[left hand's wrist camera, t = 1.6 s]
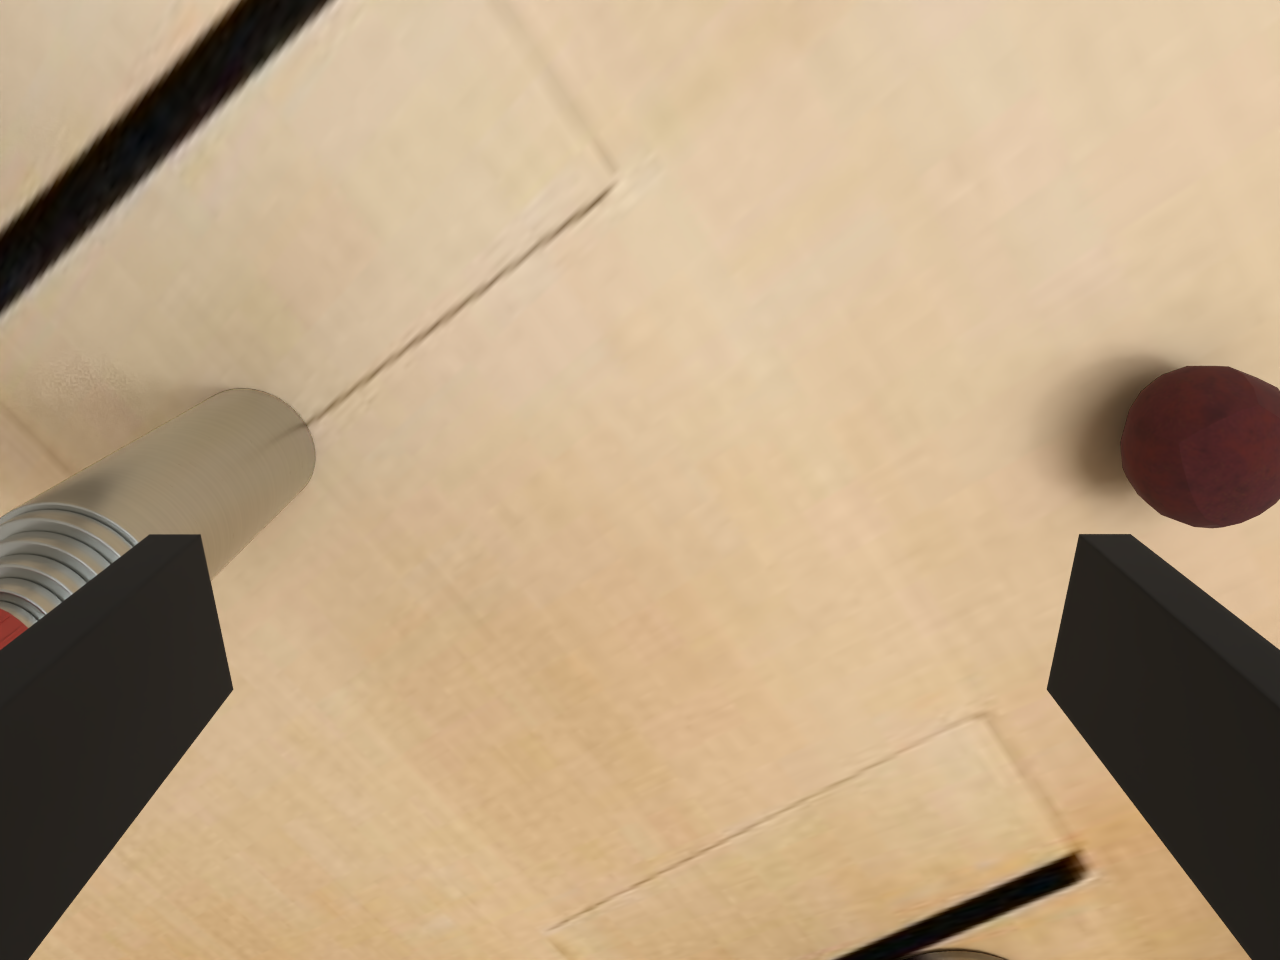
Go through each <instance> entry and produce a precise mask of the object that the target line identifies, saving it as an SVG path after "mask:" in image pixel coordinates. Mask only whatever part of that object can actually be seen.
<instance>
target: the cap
mask: <svg viewBox="0 0 1280 960" xmlns="http://www.w3.org/2000/svg"><path fill="white" fill-rule="evenodd" d="M27 629H28V627H27V626H26V625H25V624H24V623H22V622H21V621H20V620H19V619H17V618H16V617H15V616H13V615H12V614H11V613H9V612H7V611H5V610H3V609H1V608H0V650H1V649H2V648H4V647H5V646H6V645H7V644H9V643H10V642H11V641H13V640H14V639H15V638H16V637H18V636H19V635H20V634H22V633H23V632H24V631H25V630H27Z"/></svg>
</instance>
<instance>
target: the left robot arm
mask: <svg viewBox="0 0 1280 960" xmlns="http://www.w3.org/2000/svg"><path fill="white" fill-rule="evenodd" d="M232 690H233V686H232V681H231V676H230V672H229V667H228V662H227V657H226V652H225V648H224V643H223V638H222V633H221V629H220V624H219V619H218V614H217V610H216V605H215V600H214V595H213V590H212V586H211V581H210V576H209V571H208V567H207V562H206V557H205V552H204V547H203V543H202V538H201V534H149V535H148V536H147V537H145V538H144V539H143V540H141V541H140V542H139V543H138V544H136V545H135V546H134V547H132V548H131V549H130V550H129V551H127V552H126V553H125V554H123V555H122V556H121V557H120V558H118V559H117V560H116V561H114V562H113V563H112V564H111V565H109V566H108V567H107V568H105V569H104V570H103V571H102V572H100V573H99V574H98V575H96V576H95V577H94V578H92V579H91V580H90V581H89V582H87V583H86V584H85V585H83V586H82V587H81V588H80V589H78V590H77V591H76V592H74V593H73V594H72V595H71V596H69V597H68V598H67V599H65V600H64V601H63V602H62V603H60V604H59V605H58V606H56V607H55V608H54V609H53V610H51V611H50V612H49V613H47V614H46V615H45V616H44V617H42V618H41V619H40V620H38V621H37V622H36V623H35V624H33V625H32V626H31V627H29V628H28V629H27V630H25V631H24V632H23V633H22V634H20V635H19V636H18V637H16V638H15V639H14V640H13V641H11V642H10V643H9V644H7V645H6V646H5V647H4V648H2V649H1V650H0V960H28V959H29V958H30V957H31V955H32V954H33V953H34V951H35V950H36V949H37V947H38V946H39V945H40V943H41V942H42V941H43V939H44V938H45V937H46V936H47V934H48V933H49V932H50V930H51V929H52V928H53V926H54V925H55V924H56V922H57V921H58V920H59V918H60V917H61V916H62V914H63V913H64V912H65V911H66V909H67V908H68V907H69V905H70V904H71V903H72V901H73V900H74V899H75V897H76V896H77V895H78V893H79V892H80V891H81V889H82V888H83V887H84V885H85V884H86V883H87V882H88V880H89V879H90V878H91V876H92V875H93V874H94V872H95V871H96V870H97V868H98V867H99V866H100V864H101V863H102V862H103V860H104V859H105V858H106V856H107V855H108V854H109V853H110V851H111V850H112V849H113V847H114V846H115V845H116V843H117V842H118V841H119V839H120V838H121V837H122V835H123V834H124V833H125V831H126V830H127V829H128V828H129V826H130V825H131V824H132V822H133V821H134V820H135V818H136V817H137V816H138V814H139V813H140V812H141V810H142V809H143V808H144V806H145V805H146V804H147V802H148V801H149V800H150V799H151V797H152V796H153V795H154V793H155V792H156V791H157V789H158V788H159V787H160V785H161V784H162V783H163V781H164V780H165V779H166V777H167V776H168V775H169V773H170V772H171V771H172V770H173V768H174V767H175V766H176V764H177V763H178V762H179V760H180V759H181V758H182V756H183V755H184V754H185V752H186V751H187V750H188V748H189V747H190V746H191V744H192V743H193V742H194V741H195V739H196V738H197V737H198V735H199V734H200V733H201V731H202V730H203V729H204V727H205V726H206V725H207V723H208V722H209V721H210V719H211V718H212V717H213V716H214V714H215V713H216V712H217V710H218V709H219V708H220V706H221V705H222V704H223V702H224V701H225V700H226V698H227V697H228V696H229V694H230V693H231V692H232ZM1047 690H1048V692H1049V693H1050V694H1051V696H1052V697H1053V698H1054V700H1055V701H1056V702H1057V704H1058V705H1059V706H1060V708H1061V709H1062V710H1063V712H1064V713H1065V714H1066V716H1067V717H1068V718H1069V719H1070V721H1071V722H1072V723H1073V725H1074V726H1075V727H1076V729H1077V730H1078V731H1079V733H1080V734H1081V735H1082V737H1083V738H1084V739H1085V741H1086V742H1087V743H1088V744H1089V746H1090V747H1091V748H1092V750H1093V751H1094V752H1095V754H1096V755H1097V756H1098V758H1099V759H1100V760H1101V762H1102V763H1103V764H1104V766H1105V767H1106V768H1107V770H1108V771H1109V772H1110V773H1111V775H1112V776H1113V777H1114V779H1115V780H1116V781H1117V783H1118V784H1119V785H1120V787H1121V788H1122V789H1123V791H1124V792H1125V793H1126V795H1127V796H1128V797H1129V799H1130V800H1131V801H1132V802H1133V804H1134V805H1135V806H1136V808H1137V809H1138V810H1139V812H1140V813H1141V814H1142V816H1143V817H1144V818H1145V820H1146V821H1147V822H1148V824H1149V825H1150V826H1151V828H1152V829H1153V830H1154V831H1155V833H1156V834H1157V835H1158V837H1159V838H1160V839H1161V841H1162V842H1163V843H1164V845H1165V846H1166V847H1167V849H1168V850H1169V851H1170V853H1171V854H1172V855H1173V856H1174V858H1175V859H1176V860H1177V862H1178V863H1179V864H1180V866H1181V867H1182V868H1183V870H1184V871H1185V872H1186V874H1187V875H1188V876H1189V878H1190V879H1191V880H1192V882H1193V883H1194V884H1195V885H1196V887H1197V888H1198V889H1199V891H1200V892H1201V893H1202V895H1203V896H1204V897H1205V899H1206V900H1207V901H1208V903H1209V904H1210V905H1211V907H1212V908H1213V909H1214V911H1215V912H1216V913H1217V914H1218V916H1219V917H1220V918H1221V920H1222V921H1223V922H1224V924H1225V925H1226V926H1227V928H1228V929H1229V930H1230V932H1231V933H1232V934H1233V936H1234V937H1235V938H1236V939H1237V941H1238V942H1239V943H1240V945H1241V946H1242V947H1243V949H1244V950H1245V951H1246V953H1247V954H1248V955H1249V957H1250V958H1251V959H1252V960H1280V650H1279V649H1278V648H1276V647H1275V646H1274V645H1273V644H1271V643H1270V642H1269V641H1267V640H1266V639H1265V638H1264V637H1262V636H1261V635H1260V634H1258V633H1257V632H1256V631H1255V630H1253V629H1252V628H1251V627H1249V626H1248V625H1247V624H1245V623H1244V622H1243V621H1242V620H1240V619H1239V618H1238V617H1236V616H1235V615H1234V614H1233V613H1231V612H1230V611H1229V610H1227V609H1226V608H1225V607H1224V606H1222V605H1221V604H1220V603H1218V602H1217V601H1216V600H1215V599H1213V598H1212V597H1211V596H1209V595H1208V594H1207V593H1206V592H1204V591H1203V590H1202V589H1200V588H1199V587H1198V586H1197V585H1195V584H1194V583H1193V582H1191V581H1190V580H1189V579H1188V578H1186V577H1185V576H1184V575H1182V574H1181V573H1180V572H1178V571H1177V570H1176V569H1175V568H1173V567H1172V566H1171V565H1169V564H1168V563H1167V562H1166V561H1164V560H1163V559H1162V558H1160V557H1159V556H1158V555H1157V554H1155V553H1154V552H1153V551H1151V550H1150V549H1149V548H1148V547H1146V546H1145V545H1144V544H1142V543H1141V542H1140V541H1139V540H1137V539H1136V538H1135V537H1133V536H1132V535H1131V534H1079V538H1078V543H1077V547H1076V552H1075V557H1074V562H1073V567H1072V571H1071V576H1070V581H1069V586H1068V590H1067V595H1066V600H1065V605H1064V610H1063V614H1062V619H1061V624H1060V629H1059V633H1058V638H1057V643H1056V648H1055V652H1054V657H1053V662H1052V667H1051V672H1050V676H1049V681H1048V686H1047Z"/></svg>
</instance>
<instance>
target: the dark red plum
mask: <svg viewBox="0 0 1280 960" xmlns="http://www.w3.org/2000/svg"><path fill="white" fill-rule="evenodd" d="M1120 443H1121V455H1122V466H1123V470H1124V472H1125V474H1126V477H1127V478H1128V480H1129V481H1130V483H1131V484H1132V486H1133V488H1134V489H1135V491H1136V492H1137V494H1138V495H1139V496H1140V497H1141V498H1142V499H1144V500H1145V501H1146V502H1147V503H1148V504H1149V505H1150V506H1151V507H1153V508H1154V509H1155V510H1156V511H1157V512H1159V513H1160V514H1161V515H1163V516H1166V517H1169V518H1171V519H1174V520H1177V521H1179V522H1182V523H1185V524H1188V525H1190V526H1193V527H1203V528H1220V527H1226V526H1230V525H1234V524H1239V523H1242V522H1244V521H1247V520H1249V519H1251V518H1253V517H1256V516H1258V515H1260V514H1261V513H1263V512H1264V511H1266V510H1267V509H1268V508H1270V507H1271V506H1273V505H1274V504H1275V503H1276V502H1277V501H1278V500H1279V499H1280V390H1279V389H1278V388H1277V387H1275V386H1273V385H1271V384H1269V383H1267V382H1265V381H1263V380H1260V379H1258V378H1256V377H1254V376H1251V375H1249V374H1246V373H1244V372H1241V371H1238V370H1236V369H1233V368H1231V367H1225V366H1186V367H1183V368H1180V369H1177V370H1175V371H1172V372H1169V373H1166V374H1163V375H1161V376H1160V377H1158V378H1157V379H1155V380H1154V381H1153V382H1152V383H1151V384H1149V385H1148V386H1147V387H1146V388H1145V389H1143V390H1142V391H1141V392H1140V394H1139V395H1138V397H1137V398H1136V400H1135V402H1134V403H1133V405H1132V406H1131V408H1130V409H1129V413H1128V417H1127V420H1126V424H1125V428H1124V431H1123V435H1122V438H1121V442H1120Z"/></svg>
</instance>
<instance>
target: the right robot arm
mask: <svg viewBox="0 0 1280 960" xmlns="http://www.w3.org/2000/svg"><path fill="white" fill-rule="evenodd" d="M904 960H1004V959H1001V958H998V957H995V956H992V955H987V954H983V953H976V952H968V951H944V952H934V953H928V954H923V955H918V956H914V957H911V958H908V959H904Z"/></svg>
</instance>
